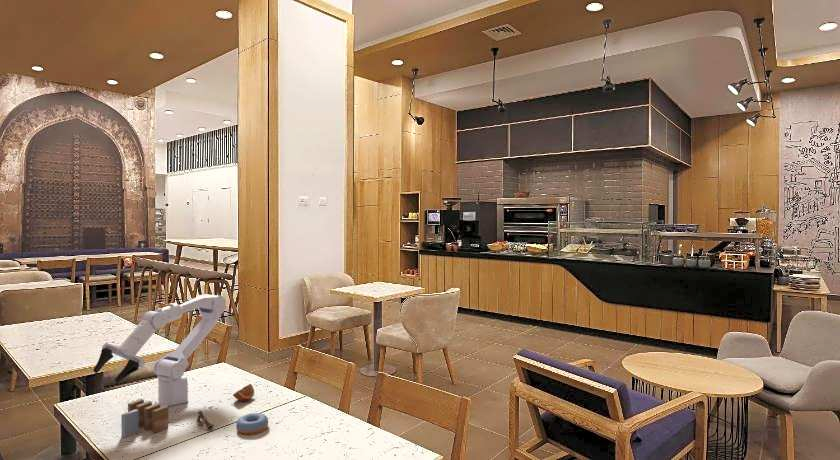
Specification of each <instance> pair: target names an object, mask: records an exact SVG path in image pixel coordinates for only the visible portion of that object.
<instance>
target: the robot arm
mask: <svg viewBox="0 0 840 460" xmlns="http://www.w3.org/2000/svg"><path fill="white" fill-rule="evenodd" d="M197 309H198V311H199V315H200V317H201V319H200V321H199V322H198V323H197V324H196V325H195V327H194V328H193V329H192V330H191V331H190V332H189V333H188V334H187V336H186V337H185V338H184V339H183V340H182V342H181V343H180V344H179V345H178V346H177V347H175V350H173V351H170V352H168V353H166V354H165V355H164V356H163V357H162V358H160V359H158V360H156V362H155V363H154V365H153V373H154V374H155V375H156V376H157V377H156V379H157V380H158V382H157V384H158V387H157V389H158V390H157V391H158V393H157V394H158V399H155V400H154V401H155V404H156V403H157V404H160V407H163V406H168V407H171V406H176V405H179V404H183V403H188V402H189V394H188V393H189V386H188V385H189V383H188V377H187V376H186V375H184V374H185V372H186V369H187V367H188V366H189V360H188V359H189V357H190V356H191V355H192V354H193V353H194V352H195V351H196V349H197V348H198V347H199V345H200V344H201V343H202V342H203V341H204V339H206V337H207V336H208V335H209V333H210V332H211V331H212V330H213V328H214V327H215V326H216V325H217V323H218V322H219V319H220V317H221V315H222V314H223V313H224V311H225V310H226V309H227V300H226V298H225V297H224V296H223V295H216V294H208V293H203V294H199V295H197V296H196V297H194V298H191V299H189V300H187V301H185V302H182V303H181V304H178V303H174V302H170V303H168V305H167V306H164V307H162V308H161V307H158V308H157V309H156V310H155V311H152V310H149V311H147V312H145V313H142V314H141V317H140V321H139V322H138V324H137V326H135V328H134V329H133V330H132V332H130V334H129V335H128V336H127V337H126V339H124V341H123V342H122V343H121V344H120V345H119V346H118V345H114V344H111V343H110V342H105V343H104V344H103V345H102V346H101V348H102V349H101V350H100V354H99V359H98V361H97V363H96V365H95V366H94V368H93V372H94V373H95V374H98V373H99V372H100V370H101V369H102V368H103V367H104V366H105V365H106V364H107V363H108V362H109V361H110V360H112V359H113V357H114V355H115V356H118V357H120V358H122V359H124V360H127V363H126V364H125V366H124V367H123V369H122V370H121V371H120V373H119V374H117V376H116V378H115V379H114V382H115V383H117V384H119V383H120V382H121V381H122V380H123V379H125V378H126V377H128V376H129V375H131V374H133V373H134V372H136V371H139V368H143V367H144V366H146V365H145V364H147V362H146V360H145V359H143V358H141V357H139V356H138V355H137V354H138V353H139V351H140V350H141V349H142V348H143V347H144V345H145V344H146V343H147V342H148V341H149V340H150V339H151V337H152V336H153V335H154V334H155V332H156V331H157V330H159V329H163V328H164V327H165V326H166V325H167V324H170V323H171V322H173V321H176V320H178V319H180V318H182V316H183V314H185V313H188V312H190V311H193V310H197Z"/></svg>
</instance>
